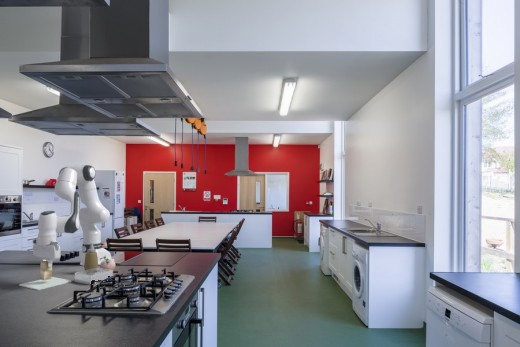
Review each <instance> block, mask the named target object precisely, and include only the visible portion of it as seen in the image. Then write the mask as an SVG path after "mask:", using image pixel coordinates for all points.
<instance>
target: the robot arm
mask: <svg viewBox="0 0 520 347" xmlns="http://www.w3.org/2000/svg"><path fill="white" fill-rule="evenodd" d="M95 177H96V169H95V167H94V166H92V165H89V164H88V165H87V164H85V165H79V164H78V165H73V166H65V167H62V168H61V169H60V170H59V172H58V176H57V179H56V182H55V185H54V194H55V195H56V196H57V197H58V198H61V199H62V200H65V201H68V202H70V214H69V215H57V212H56V211H54V210H46V211H42V212H40V214H39V216H38V222H37V223H38V224H37V229H38V233H37V238H34V239H33V240H32V244H33V245H32V254H33V257H34V258H35V257H37V258H39V262H41V261H44V260H48V263H47V267H51V266H52V267H53V262H54V260H59V259H60V258H61V254H62V252H61V246H60V244H59V243H58V241H57V234H63V233H64V234H75V233H76V232H77V231H78V230H79V229H80V226H81V230H82V237H83V238H82V246H81V249H82V255H81V260H80V263H79V265H80V266H83V267H84V263H85V255H86V253H88V252H87V250H88V249H89V248H90V244H91V243H93V247H94V249H96V253H97V256H98V266H100V264H101V262H102V261H103V260H105V259H107V258H108V259H110V260H113V261H114V262H115V259H114V258H112V255H111V252H110V251H109V250H107V249H105V248H104V247H106V242H102V240H101V239H102V232H101V230H100V229H99V228H98V226H97V225H96V224H98V225H99V224H103V223H104V224H105V223H107V222H108V221H109V220H110V217H111V212H110V211H109V209H107V208H106V207H105V206H104V205H103V203H102V202H101V200H100V198H99V195H98V189H97V185H96V181H95ZM76 187H77V188H78V191H77V190H76ZM81 203H82V204H84V206H85V207H82V208H81V206H80V205H81Z"/></svg>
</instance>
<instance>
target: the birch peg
mask: <svg viewBox="0 0 520 347" xmlns="http://www.w3.org/2000/svg"><path fill="white" fill-rule="evenodd" d="M47 263H48V259H45V260H44V261H40V265H39V266H40V269H39V271H40V272H39V273H40V274H39V280H48V279H52V277H53V265H52V266H51V267H47Z"/></svg>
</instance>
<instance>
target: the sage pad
mask: <svg viewBox="0 0 520 347" xmlns="http://www.w3.org/2000/svg"><path fill="white" fill-rule="evenodd" d="M72 282H73V281H72V280H70V279H64V278H60V277H55V276H52V279H48V280H40V279H38V280H34V281H29V282H24V283H19V284H18V286H19V287H23V288H28V289H31V290H36V291H41V290H44V289H49V288H53V287H56V286H57V287H58V286H60V285H64V284H69V283H72Z"/></svg>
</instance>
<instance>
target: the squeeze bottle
mask: <svg viewBox="0 0 520 347" xmlns="http://www.w3.org/2000/svg"><path fill="white" fill-rule="evenodd" d="M87 252H88V253H86V255H85V263H84V266H83V269H84V270H88V269H93V268H99V265H98V256H97V253H96V249H94V247H93V243H91V244H90V248H89V249H88V250H87Z"/></svg>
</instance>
